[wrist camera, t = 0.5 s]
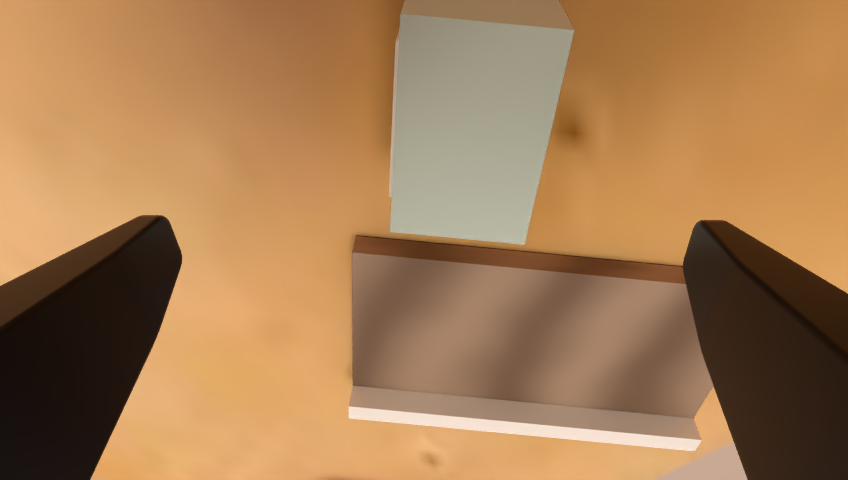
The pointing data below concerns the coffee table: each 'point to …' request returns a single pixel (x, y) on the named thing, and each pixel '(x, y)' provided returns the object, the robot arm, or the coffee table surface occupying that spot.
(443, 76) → the tea tin
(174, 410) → the coffee table surface
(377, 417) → the rail
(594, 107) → the coffee table surface
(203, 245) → the coffee table surface
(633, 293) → the shelf board
